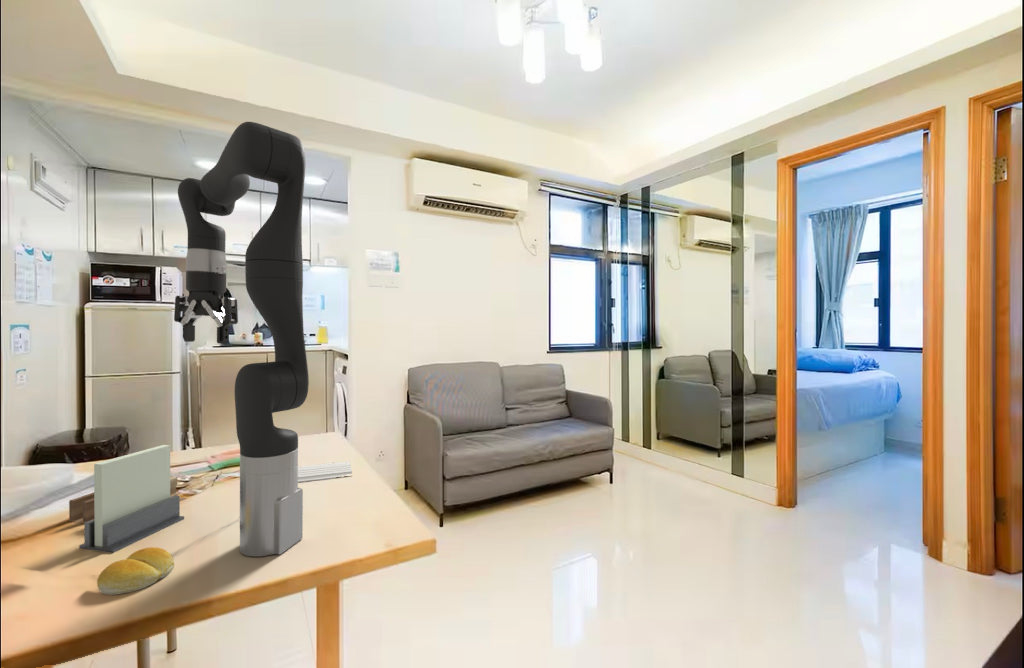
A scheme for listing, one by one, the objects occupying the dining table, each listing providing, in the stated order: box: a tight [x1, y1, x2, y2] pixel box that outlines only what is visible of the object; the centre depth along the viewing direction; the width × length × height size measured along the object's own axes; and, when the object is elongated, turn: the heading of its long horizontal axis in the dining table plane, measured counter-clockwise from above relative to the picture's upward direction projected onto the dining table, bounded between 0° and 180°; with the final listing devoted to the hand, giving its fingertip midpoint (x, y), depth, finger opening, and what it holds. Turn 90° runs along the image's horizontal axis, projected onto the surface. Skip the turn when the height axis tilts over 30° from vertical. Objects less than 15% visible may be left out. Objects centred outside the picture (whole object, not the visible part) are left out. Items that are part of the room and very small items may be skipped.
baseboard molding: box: [211, 460, 353, 487], centre depth 113 cm, size 31×3×12 cm
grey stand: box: [78, 494, 185, 554], centre depth 80 cm, size 7×13×6 cm, turn 170°
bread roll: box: [96, 547, 176, 596], centre depth 68 cm, size 8×9×4 cm
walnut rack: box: [68, 492, 187, 524], centre depth 90 cm, size 12×14×6 cm
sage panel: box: [93, 444, 171, 546], centre depth 80 cm, size 2×12×14 cm, turn 169°
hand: (205, 342), depth 99 cm, fingers open, 8 cm apart
